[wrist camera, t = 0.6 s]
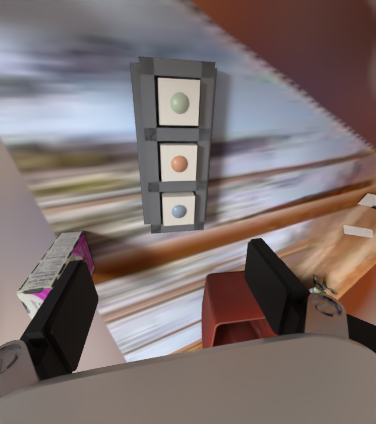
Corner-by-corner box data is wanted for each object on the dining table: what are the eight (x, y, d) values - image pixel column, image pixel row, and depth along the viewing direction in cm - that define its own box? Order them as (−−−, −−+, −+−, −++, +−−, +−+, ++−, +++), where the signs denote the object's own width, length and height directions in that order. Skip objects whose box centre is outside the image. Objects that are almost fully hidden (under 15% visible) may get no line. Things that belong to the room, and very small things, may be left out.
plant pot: (261, 260, 56) (301, 313, 42) (247, 305, 65) (276, 362, 50) (197, 265, 53) (215, 324, 38) (191, 312, 61) (204, 375, 46)
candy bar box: (97, 267, 47) (74, 335, 33) (75, 270, 47) (42, 341, 32) (84, 228, 42) (51, 288, 28) (59, 231, 42) (12, 294, 27)
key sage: (159, 123, 32) (159, 124, 30) (157, 80, 30) (158, 77, 27) (194, 124, 33) (198, 125, 31) (195, 82, 31) (200, 80, 28)
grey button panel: (144, 222, 44) (143, 234, 40) (130, 63, 31) (127, 55, 27) (204, 218, 46) (210, 229, 42) (215, 69, 33) (224, 63, 29)
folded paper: (393, 198, 55) (401, 201, 53) (367, 234, 60) (373, 238, 58) (363, 191, 52) (370, 194, 50) (337, 229, 57) (343, 233, 55)
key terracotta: (161, 176, 36) (162, 181, 34) (159, 142, 34) (160, 145, 31) (192, 175, 37) (195, 180, 35) (193, 142, 35) (197, 145, 32)
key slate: (162, 218, 40) (163, 226, 38) (161, 191, 38) (162, 197, 35) (191, 216, 41) (194, 224, 39) (192, 190, 39) (195, 196, 36)
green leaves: (279, 274, 70) (283, 292, 57) (312, 258, 66) (325, 274, 53) (300, 305, 68) (310, 331, 56) (336, 291, 64) (355, 316, 52)
